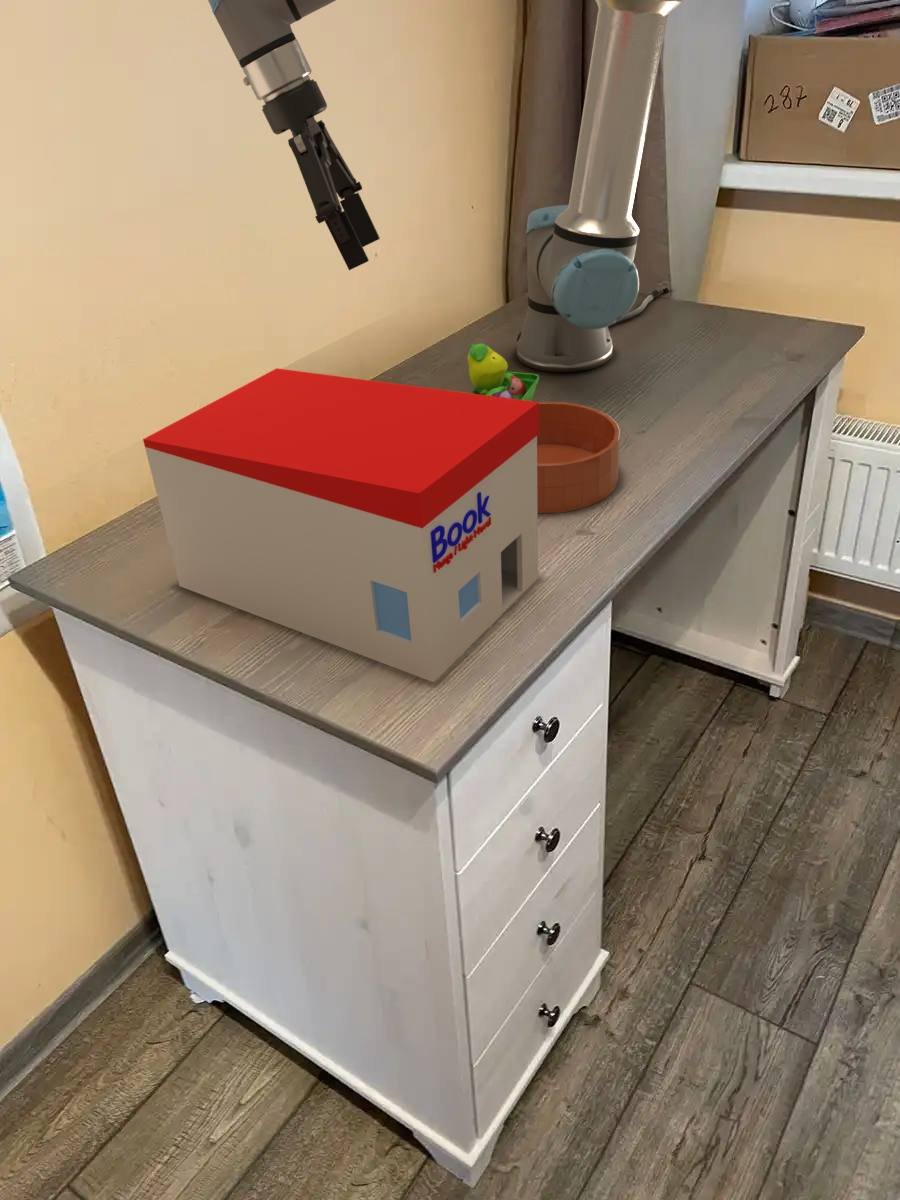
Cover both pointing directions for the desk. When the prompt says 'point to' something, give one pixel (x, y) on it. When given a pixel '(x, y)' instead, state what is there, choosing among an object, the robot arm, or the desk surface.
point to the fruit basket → (498, 376)
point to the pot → (575, 456)
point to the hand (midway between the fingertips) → (365, 253)
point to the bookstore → (356, 510)
